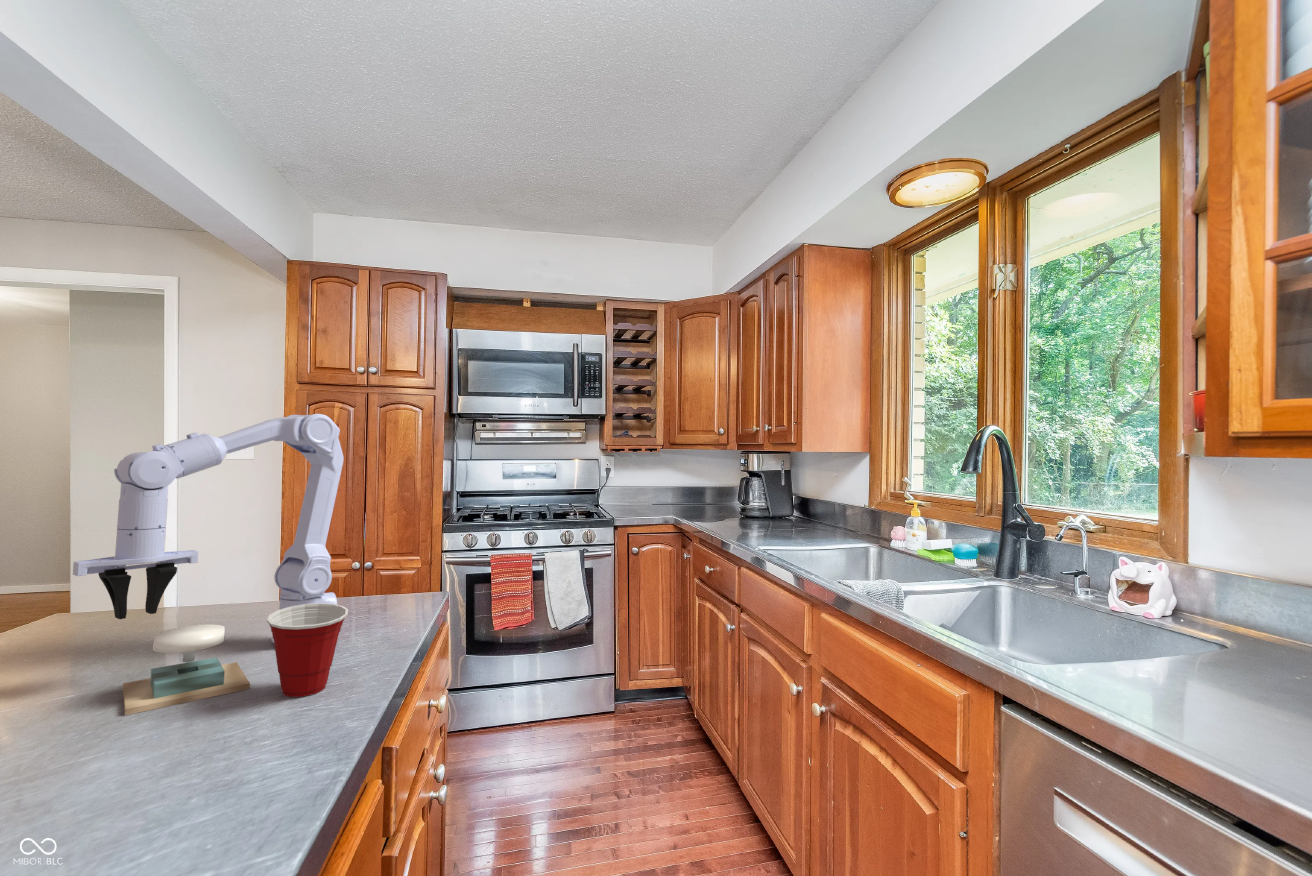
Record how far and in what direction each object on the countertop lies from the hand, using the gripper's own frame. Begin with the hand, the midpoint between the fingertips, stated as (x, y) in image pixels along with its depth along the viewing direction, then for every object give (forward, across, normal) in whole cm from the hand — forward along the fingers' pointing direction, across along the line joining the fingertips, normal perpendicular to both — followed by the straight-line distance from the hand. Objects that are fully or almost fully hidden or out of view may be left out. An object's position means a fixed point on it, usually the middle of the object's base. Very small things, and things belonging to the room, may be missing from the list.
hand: (135, 615), depth 88 cm
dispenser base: (+10, -4, +9) cm, 14 cm away
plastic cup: (+11, -13, +24) cm, 30 cm away
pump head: (+6, -4, +9) cm, 12 cm away
